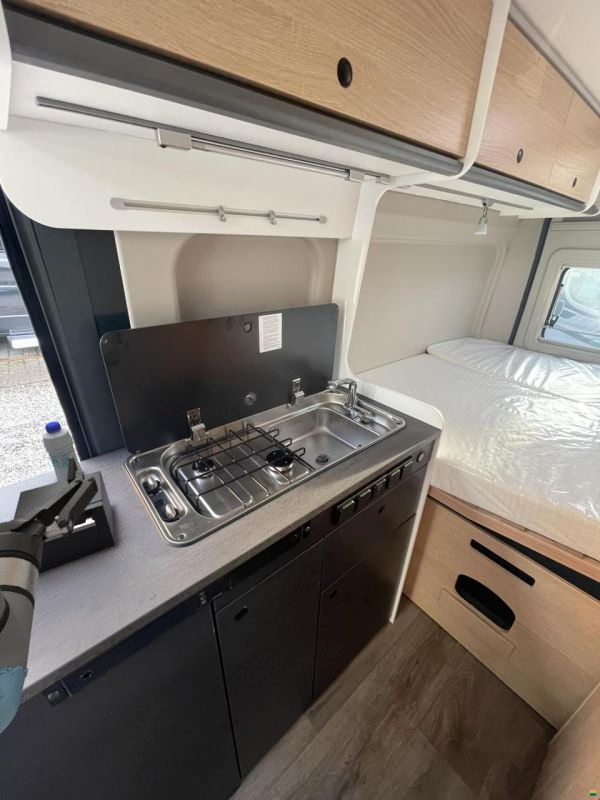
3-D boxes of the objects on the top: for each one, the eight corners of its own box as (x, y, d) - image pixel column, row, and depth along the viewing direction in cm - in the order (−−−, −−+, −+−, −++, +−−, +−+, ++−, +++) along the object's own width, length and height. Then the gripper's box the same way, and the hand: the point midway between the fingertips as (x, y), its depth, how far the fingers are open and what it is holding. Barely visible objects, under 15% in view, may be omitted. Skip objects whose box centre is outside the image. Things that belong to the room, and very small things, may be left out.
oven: (115, 541, 78) (102, 499, 73) (32, 571, 71) (11, 527, 65) (112, 509, 88) (100, 470, 82) (38, 533, 80) (20, 491, 75)
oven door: (116, 556, 75) (103, 513, 69) (29, 589, 67) (6, 544, 62) (115, 541, 78) (102, 500, 73) (32, 571, 71) (11, 528, 65)
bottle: (82, 485, 96) (63, 426, 88) (55, 490, 94) (33, 430, 86) (86, 471, 102) (68, 415, 94) (61, 476, 100) (40, 419, 91)
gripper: (-148, 662, 33) (-71, 522, 49) (125, 556, 45) (114, 472, 61) (-195, 616, 30) (-95, 483, 46) (113, 515, 41) (105, 437, 58)
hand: (24, 476), depth 54 cm, fingers open, 13 cm apart
